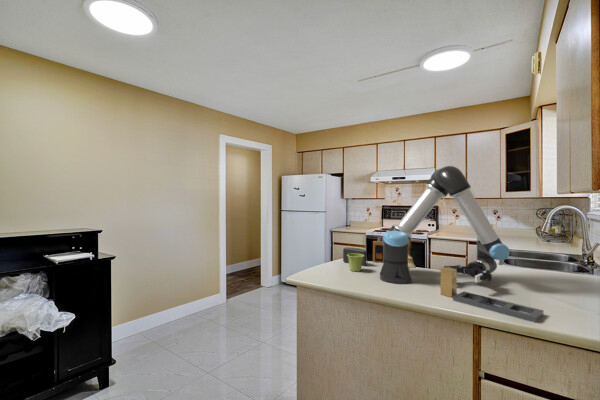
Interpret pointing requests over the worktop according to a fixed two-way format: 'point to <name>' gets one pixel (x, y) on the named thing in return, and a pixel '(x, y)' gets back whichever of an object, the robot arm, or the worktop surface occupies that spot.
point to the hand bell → (410, 259)
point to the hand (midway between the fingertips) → (458, 275)
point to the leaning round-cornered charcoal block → (356, 251)
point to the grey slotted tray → (505, 309)
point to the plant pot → (355, 261)
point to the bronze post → (448, 282)
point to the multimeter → (377, 250)
